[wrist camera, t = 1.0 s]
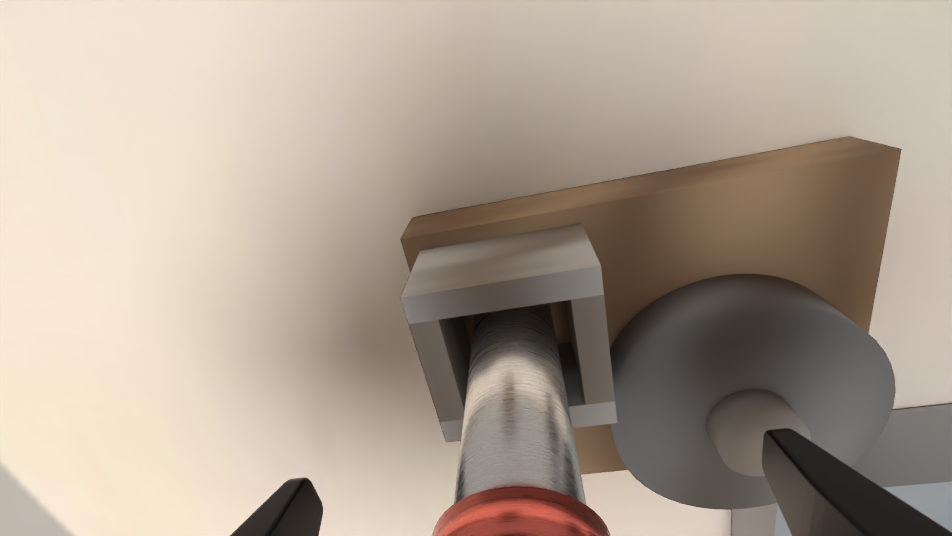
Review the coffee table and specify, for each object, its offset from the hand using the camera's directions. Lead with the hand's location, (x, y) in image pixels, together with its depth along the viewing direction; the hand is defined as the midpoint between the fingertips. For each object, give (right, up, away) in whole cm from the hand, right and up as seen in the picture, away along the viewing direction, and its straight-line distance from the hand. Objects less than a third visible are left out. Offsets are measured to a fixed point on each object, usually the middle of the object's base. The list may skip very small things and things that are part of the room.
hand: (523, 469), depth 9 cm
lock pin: (0, +3, +6) cm, 7 cm away
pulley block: (+5, +2, +8) cm, 10 cm away
